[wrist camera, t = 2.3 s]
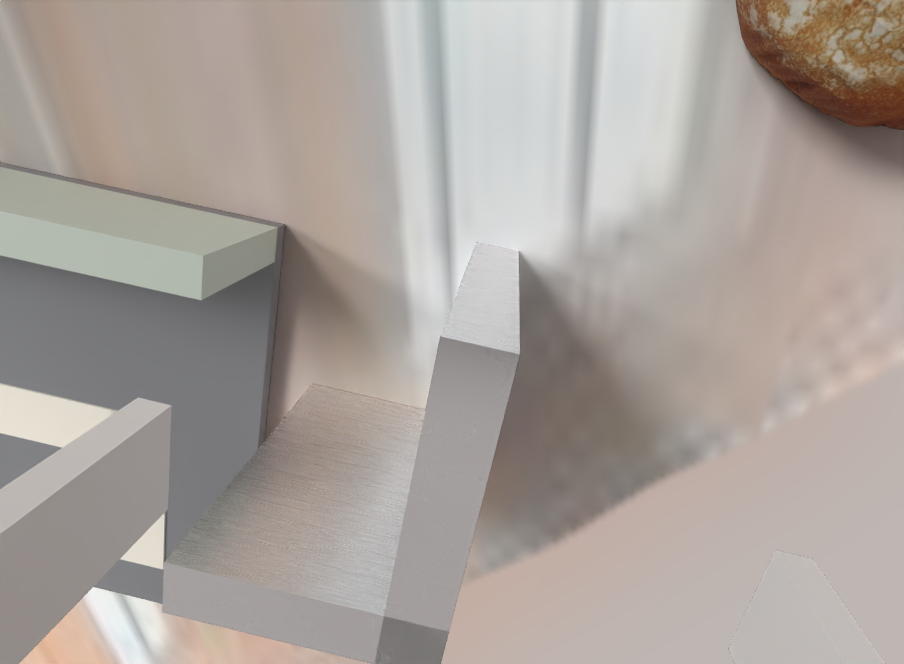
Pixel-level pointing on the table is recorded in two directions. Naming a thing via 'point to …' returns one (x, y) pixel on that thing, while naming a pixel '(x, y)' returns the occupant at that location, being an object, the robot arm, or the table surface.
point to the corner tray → (134, 337)
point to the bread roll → (833, 54)
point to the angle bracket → (363, 501)
